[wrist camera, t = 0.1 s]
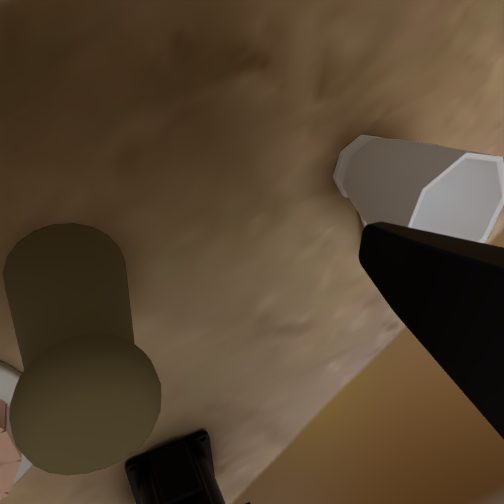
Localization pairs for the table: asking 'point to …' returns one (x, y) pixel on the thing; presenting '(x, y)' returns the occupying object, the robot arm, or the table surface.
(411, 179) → the cup
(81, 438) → the brown peg
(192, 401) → the table surface
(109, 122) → the table surface
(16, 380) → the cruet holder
